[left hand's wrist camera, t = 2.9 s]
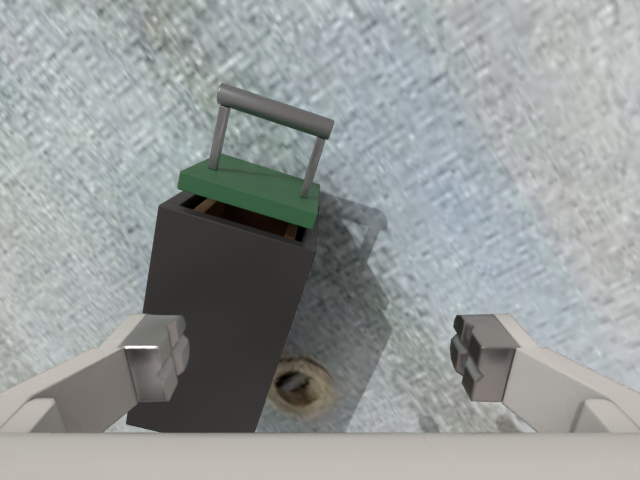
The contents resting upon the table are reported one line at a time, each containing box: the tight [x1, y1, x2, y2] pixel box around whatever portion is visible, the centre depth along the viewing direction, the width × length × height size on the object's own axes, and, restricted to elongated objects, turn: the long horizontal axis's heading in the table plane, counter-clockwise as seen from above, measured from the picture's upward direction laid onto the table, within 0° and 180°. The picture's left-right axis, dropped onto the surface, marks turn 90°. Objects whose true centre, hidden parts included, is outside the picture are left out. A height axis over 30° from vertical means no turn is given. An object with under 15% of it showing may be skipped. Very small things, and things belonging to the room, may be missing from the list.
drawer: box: [178, 83, 334, 240], centre depth 28 cm, size 24×9×9 cm, turn 162°
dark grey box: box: [126, 191, 319, 433], centre depth 30 cm, size 19×10×11 cm, turn 163°
